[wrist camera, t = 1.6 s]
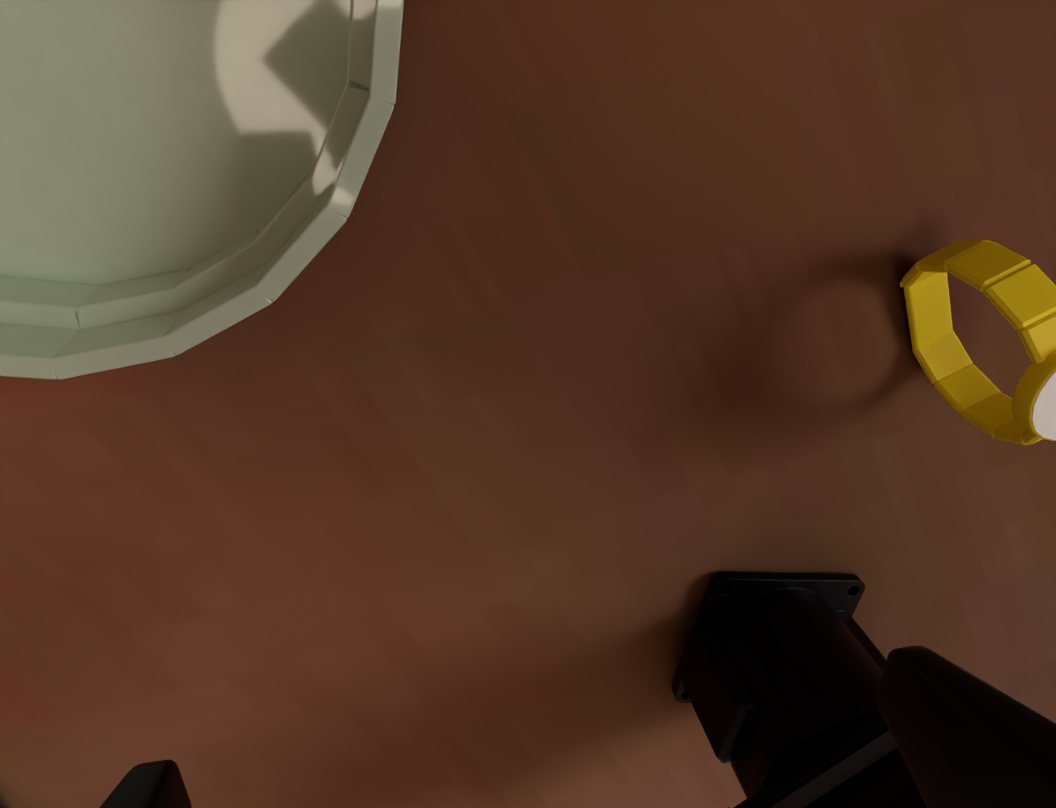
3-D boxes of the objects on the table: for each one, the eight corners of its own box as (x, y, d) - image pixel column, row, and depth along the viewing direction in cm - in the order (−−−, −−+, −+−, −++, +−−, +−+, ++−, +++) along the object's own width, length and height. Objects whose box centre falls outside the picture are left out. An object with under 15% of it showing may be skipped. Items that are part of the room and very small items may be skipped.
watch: (866, 250, 22) (1020, 319, 16) (950, 206, 21) (1132, 262, 16) (900, 399, 24) (1040, 498, 19) (974, 362, 24) (1135, 452, 19)
